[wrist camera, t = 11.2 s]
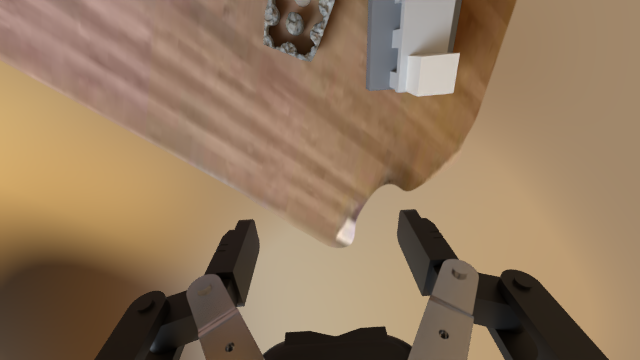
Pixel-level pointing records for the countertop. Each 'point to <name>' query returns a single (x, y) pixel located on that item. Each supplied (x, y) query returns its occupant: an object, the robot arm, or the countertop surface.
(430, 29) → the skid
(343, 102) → the countertop surface
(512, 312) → the robot arm
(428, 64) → the block
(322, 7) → the egg carton
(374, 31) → the dock
